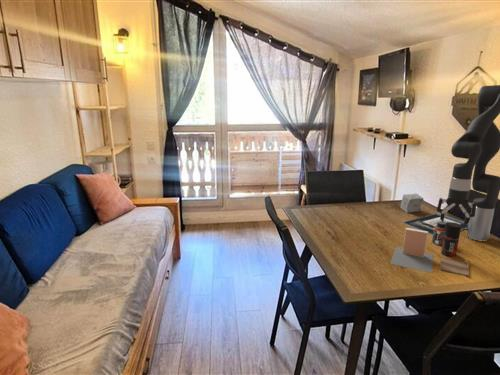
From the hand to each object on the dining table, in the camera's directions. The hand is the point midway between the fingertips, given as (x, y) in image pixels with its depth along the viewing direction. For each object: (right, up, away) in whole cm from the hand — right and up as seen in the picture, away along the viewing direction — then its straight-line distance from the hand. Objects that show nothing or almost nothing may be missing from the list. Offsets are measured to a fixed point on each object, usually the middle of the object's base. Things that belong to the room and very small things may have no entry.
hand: (453, 222), depth 147 cm
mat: (-18, -17, 0) cm, 25 cm away
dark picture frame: (+15, -6, +39) cm, 42 cm away
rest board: (-4, -18, -7) cm, 20 cm away
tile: (-16, -15, +4) cm, 22 cm away
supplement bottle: (+2, -12, +15) cm, 20 cm away
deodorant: (0, -15, +4) cm, 16 cm away
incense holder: (+11, +1, +61) cm, 62 cm away
